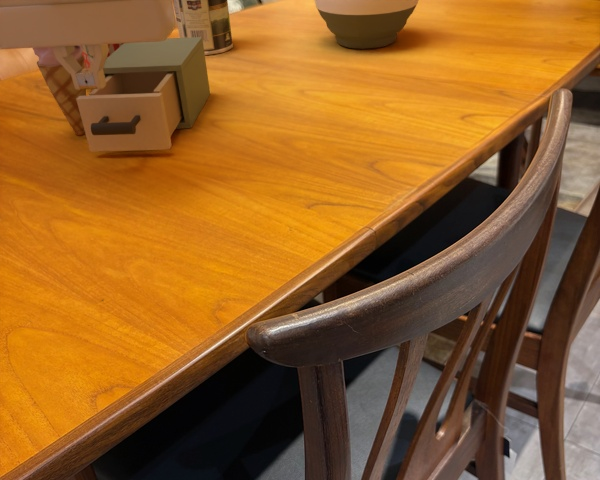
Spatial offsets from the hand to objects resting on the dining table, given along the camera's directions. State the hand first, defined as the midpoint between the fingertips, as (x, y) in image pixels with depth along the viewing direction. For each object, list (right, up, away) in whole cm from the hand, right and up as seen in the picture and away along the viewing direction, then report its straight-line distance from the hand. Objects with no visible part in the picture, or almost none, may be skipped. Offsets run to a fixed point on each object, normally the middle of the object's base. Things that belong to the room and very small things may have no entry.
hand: (91, 87), depth 66 cm
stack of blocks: (-11, +14, +39) cm, 43 cm away
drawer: (+1, -1, +16) cm, 16 cm away
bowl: (+35, +26, +51) cm, 68 cm away
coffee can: (+4, +26, +54) cm, 60 cm away
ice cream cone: (-8, +1, +21) cm, 22 cm away
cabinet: (+2, +5, +26) cm, 27 cm away
